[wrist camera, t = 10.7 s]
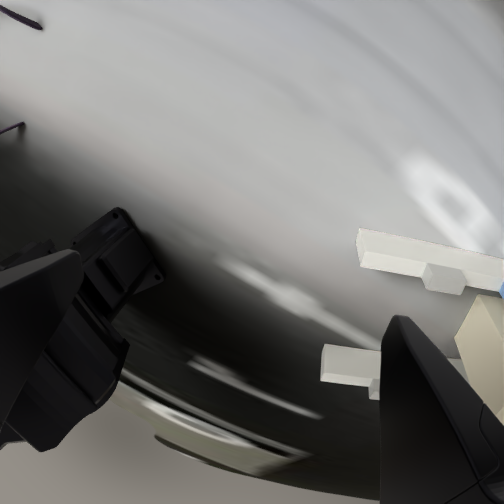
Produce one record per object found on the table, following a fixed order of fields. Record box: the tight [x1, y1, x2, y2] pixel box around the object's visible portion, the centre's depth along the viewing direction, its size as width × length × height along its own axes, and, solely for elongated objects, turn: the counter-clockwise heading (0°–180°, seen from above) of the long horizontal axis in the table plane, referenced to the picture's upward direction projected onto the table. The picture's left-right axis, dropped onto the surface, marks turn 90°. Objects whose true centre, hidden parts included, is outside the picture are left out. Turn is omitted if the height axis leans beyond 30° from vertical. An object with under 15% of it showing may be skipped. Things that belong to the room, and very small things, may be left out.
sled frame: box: [320, 228, 504, 400], centre depth 19 cm, size 18×11×5 cm, turn 84°
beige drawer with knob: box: [454, 294, 504, 425], centre depth 16 cm, size 4×4×10 cm
